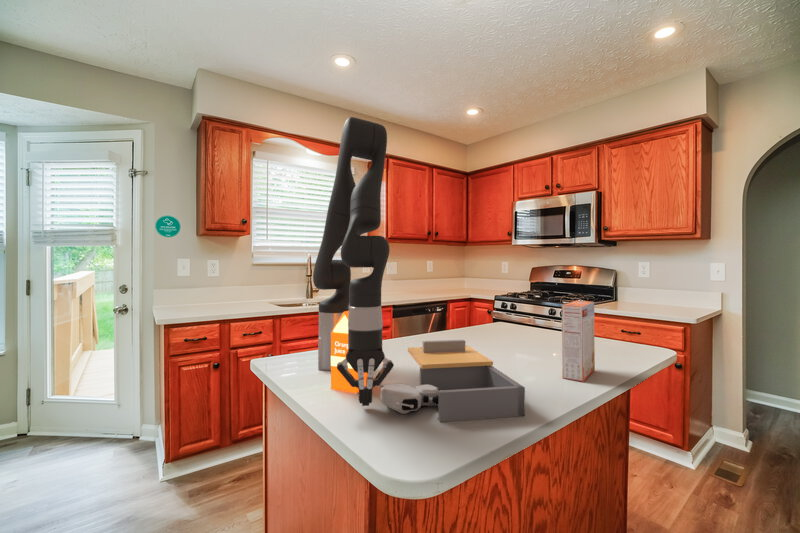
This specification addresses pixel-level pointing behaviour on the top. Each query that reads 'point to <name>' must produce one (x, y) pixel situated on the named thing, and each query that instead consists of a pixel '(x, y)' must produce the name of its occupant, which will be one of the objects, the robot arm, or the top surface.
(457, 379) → the box
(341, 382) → the orange juice
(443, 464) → the top surface
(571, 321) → the cracker box
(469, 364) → the lid
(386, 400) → the robot toy
